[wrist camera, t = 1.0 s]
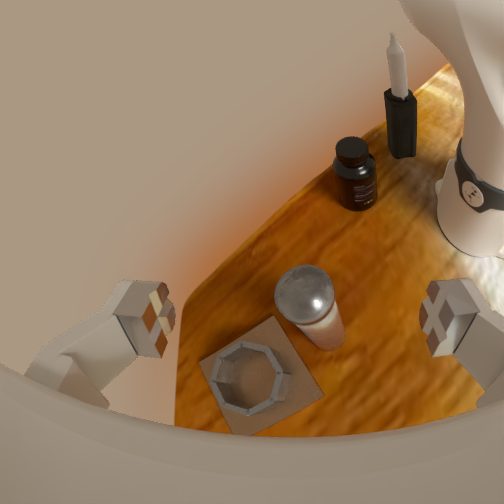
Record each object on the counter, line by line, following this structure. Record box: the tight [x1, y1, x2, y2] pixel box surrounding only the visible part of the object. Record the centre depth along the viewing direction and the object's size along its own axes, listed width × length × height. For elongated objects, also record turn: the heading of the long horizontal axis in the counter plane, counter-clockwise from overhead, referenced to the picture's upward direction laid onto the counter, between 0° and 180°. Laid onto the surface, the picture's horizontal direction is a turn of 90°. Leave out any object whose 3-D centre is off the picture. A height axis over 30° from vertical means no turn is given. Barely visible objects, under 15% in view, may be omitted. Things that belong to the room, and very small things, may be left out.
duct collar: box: [199, 315, 325, 436], centre depth 36 cm, size 14×14×5 cm
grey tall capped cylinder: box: [274, 265, 345, 351], centre depth 30 cm, size 5×5×18 cm
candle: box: [384, 32, 417, 159], centre depth 37 cm, size 5×5×25 cm
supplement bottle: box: [333, 136, 377, 211], centre depth 41 cm, size 7×7×12 cm
